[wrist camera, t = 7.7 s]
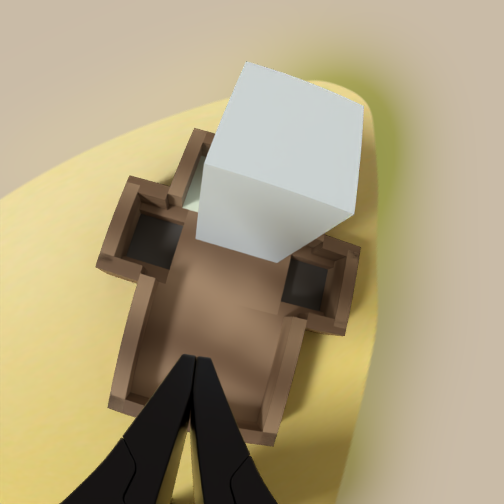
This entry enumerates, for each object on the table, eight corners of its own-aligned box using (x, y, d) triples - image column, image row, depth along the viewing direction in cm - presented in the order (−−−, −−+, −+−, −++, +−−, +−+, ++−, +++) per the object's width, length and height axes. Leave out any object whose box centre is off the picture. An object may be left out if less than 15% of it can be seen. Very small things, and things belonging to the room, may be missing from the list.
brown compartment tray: (298, 435, 21) (313, 449, 18) (81, 382, 18) (66, 391, 15) (349, 201, 26) (367, 188, 23) (159, 140, 23) (156, 118, 20)
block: (276, 262, 22) (354, 214, 11) (195, 238, 21) (204, 163, 11) (293, 189, 24) (363, 106, 13) (219, 165, 23) (246, 61, 12)
